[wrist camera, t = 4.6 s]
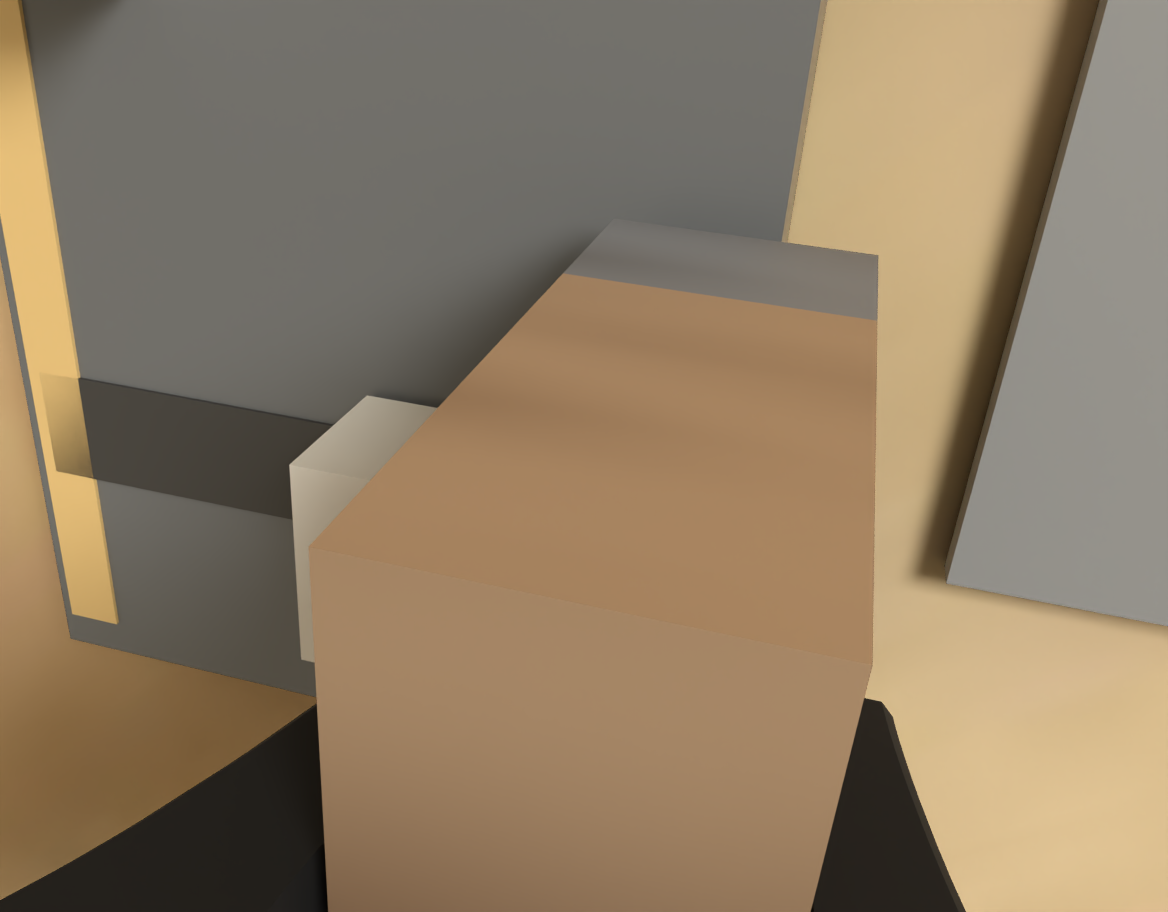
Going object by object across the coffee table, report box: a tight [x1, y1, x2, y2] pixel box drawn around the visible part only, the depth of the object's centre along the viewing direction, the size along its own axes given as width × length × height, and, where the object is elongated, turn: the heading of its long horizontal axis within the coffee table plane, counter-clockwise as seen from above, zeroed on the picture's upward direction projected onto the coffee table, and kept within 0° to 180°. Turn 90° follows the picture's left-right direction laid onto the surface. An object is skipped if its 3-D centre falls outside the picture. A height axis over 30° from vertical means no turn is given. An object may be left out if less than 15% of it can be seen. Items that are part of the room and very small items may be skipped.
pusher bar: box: [308, 219, 878, 912], centre depth 9 cm, size 7×2×6 cm, turn 176°
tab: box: [289, 395, 437, 663], centre depth 12 cm, size 2×2×2 cm
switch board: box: [0, 0, 827, 697], centre depth 12 cm, size 12×9×2 cm
